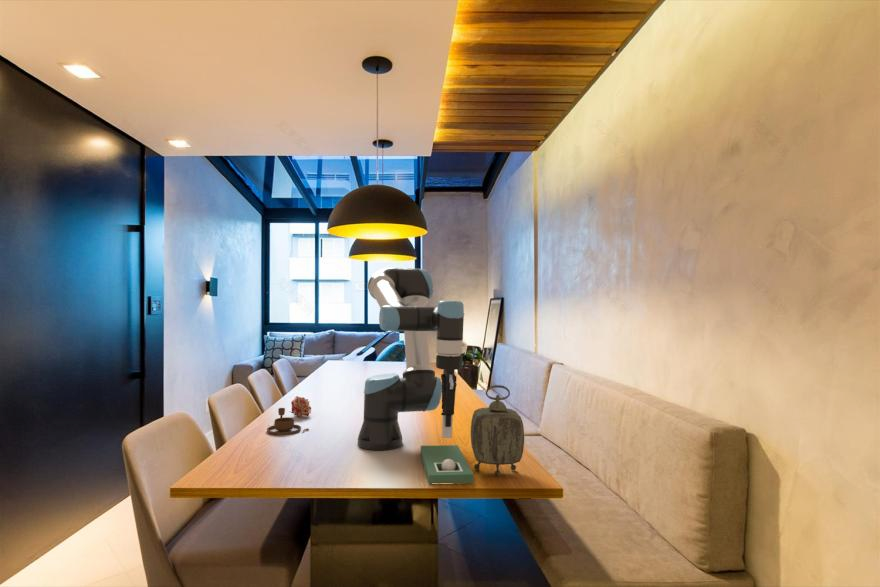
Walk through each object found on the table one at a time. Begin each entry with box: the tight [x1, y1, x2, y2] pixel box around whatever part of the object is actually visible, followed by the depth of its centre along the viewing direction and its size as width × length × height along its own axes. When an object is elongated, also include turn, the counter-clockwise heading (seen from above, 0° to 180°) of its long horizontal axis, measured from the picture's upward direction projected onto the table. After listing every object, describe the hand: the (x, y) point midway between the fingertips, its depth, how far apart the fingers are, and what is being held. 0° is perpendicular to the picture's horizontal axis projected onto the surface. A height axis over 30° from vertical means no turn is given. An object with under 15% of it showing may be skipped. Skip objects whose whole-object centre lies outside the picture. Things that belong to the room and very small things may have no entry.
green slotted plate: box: [420, 444, 474, 484], centre depth 134 cm, size 12×26×2 cm, turn 7°
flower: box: [288, 395, 312, 419], centre depth 192 cm, size 10×9×8 cm
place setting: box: [266, 407, 310, 436], centre depth 173 cm, size 18×20×6 cm
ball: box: [442, 459, 456, 471], centre depth 129 cm, size 4×4×4 cm
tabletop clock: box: [470, 384, 525, 477], centre depth 131 cm, size 14×9×25 cm, turn 91°
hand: (446, 437), depth 131 cm, fingers closed
